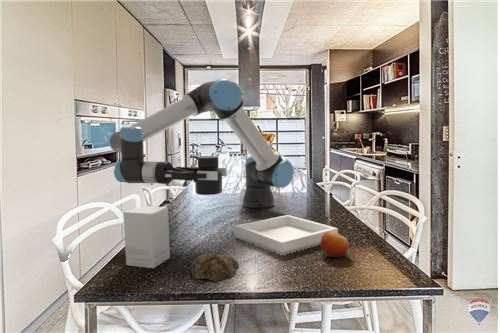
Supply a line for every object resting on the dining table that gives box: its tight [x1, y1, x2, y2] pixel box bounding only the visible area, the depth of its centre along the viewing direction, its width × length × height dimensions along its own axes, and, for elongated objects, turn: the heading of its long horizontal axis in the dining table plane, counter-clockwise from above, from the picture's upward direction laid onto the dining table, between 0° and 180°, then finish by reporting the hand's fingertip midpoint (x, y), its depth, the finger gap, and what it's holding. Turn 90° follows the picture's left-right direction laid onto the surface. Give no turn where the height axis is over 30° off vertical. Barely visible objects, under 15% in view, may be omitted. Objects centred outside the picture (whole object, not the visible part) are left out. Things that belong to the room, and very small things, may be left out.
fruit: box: [320, 231, 350, 259], centre depth 109 cm, size 8×8×8 cm
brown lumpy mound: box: [190, 252, 240, 282], centre depth 99 cm, size 13×12×5 cm
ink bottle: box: [194, 155, 223, 196], centre depth 126 cm, size 10×9×12 cm
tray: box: [234, 214, 339, 256], centre depth 126 cm, size 24×24×4 cm
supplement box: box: [122, 205, 171, 269], centre depth 106 cm, size 9×9×15 cm
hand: (221, 173), depth 125 cm, fingers closed on ink bottle, 9 cm apart
